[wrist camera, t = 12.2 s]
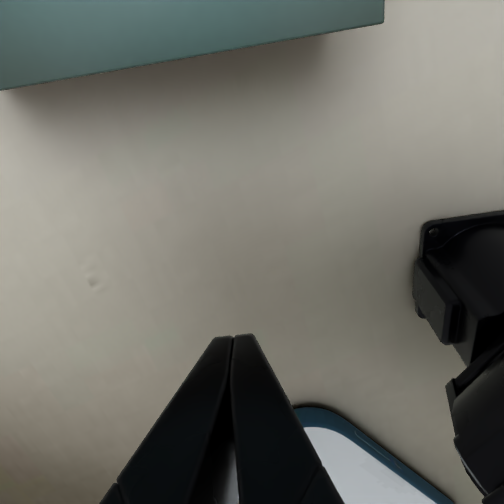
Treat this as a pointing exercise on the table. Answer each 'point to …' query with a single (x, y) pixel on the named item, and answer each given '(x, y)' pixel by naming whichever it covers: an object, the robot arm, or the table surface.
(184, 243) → the table surface
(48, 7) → the lid
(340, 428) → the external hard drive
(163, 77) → the table surface
